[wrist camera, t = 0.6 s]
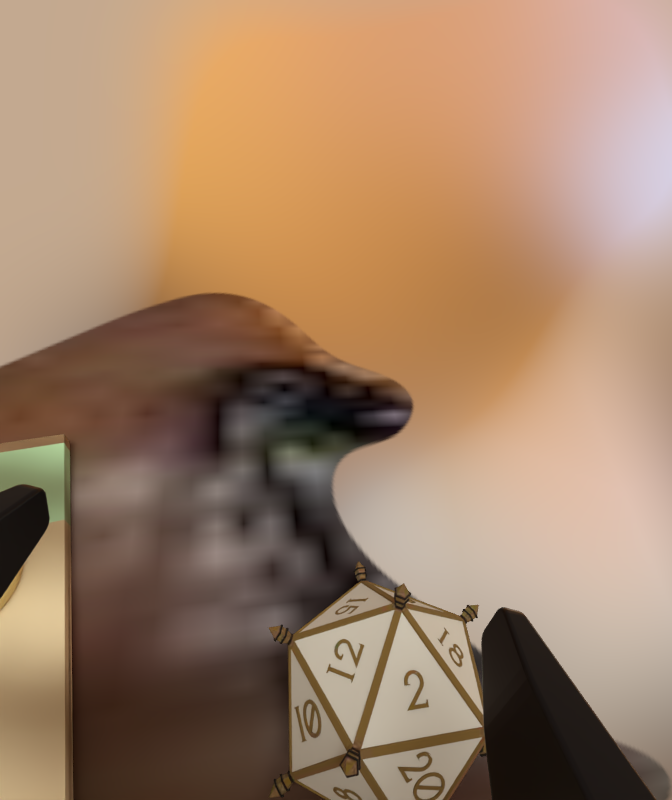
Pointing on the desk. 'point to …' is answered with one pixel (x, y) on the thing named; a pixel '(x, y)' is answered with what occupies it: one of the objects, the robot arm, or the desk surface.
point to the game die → (381, 698)
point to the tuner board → (38, 636)
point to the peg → (10, 589)
